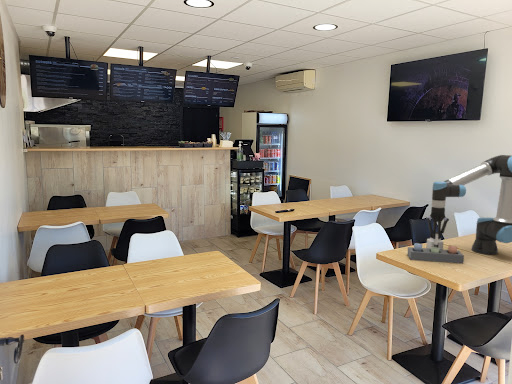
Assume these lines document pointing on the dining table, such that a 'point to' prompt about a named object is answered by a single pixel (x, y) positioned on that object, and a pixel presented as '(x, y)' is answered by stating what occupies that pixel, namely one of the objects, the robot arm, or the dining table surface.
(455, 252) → the terracotta button
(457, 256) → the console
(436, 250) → the sage button
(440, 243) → the container
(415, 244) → the slate button
